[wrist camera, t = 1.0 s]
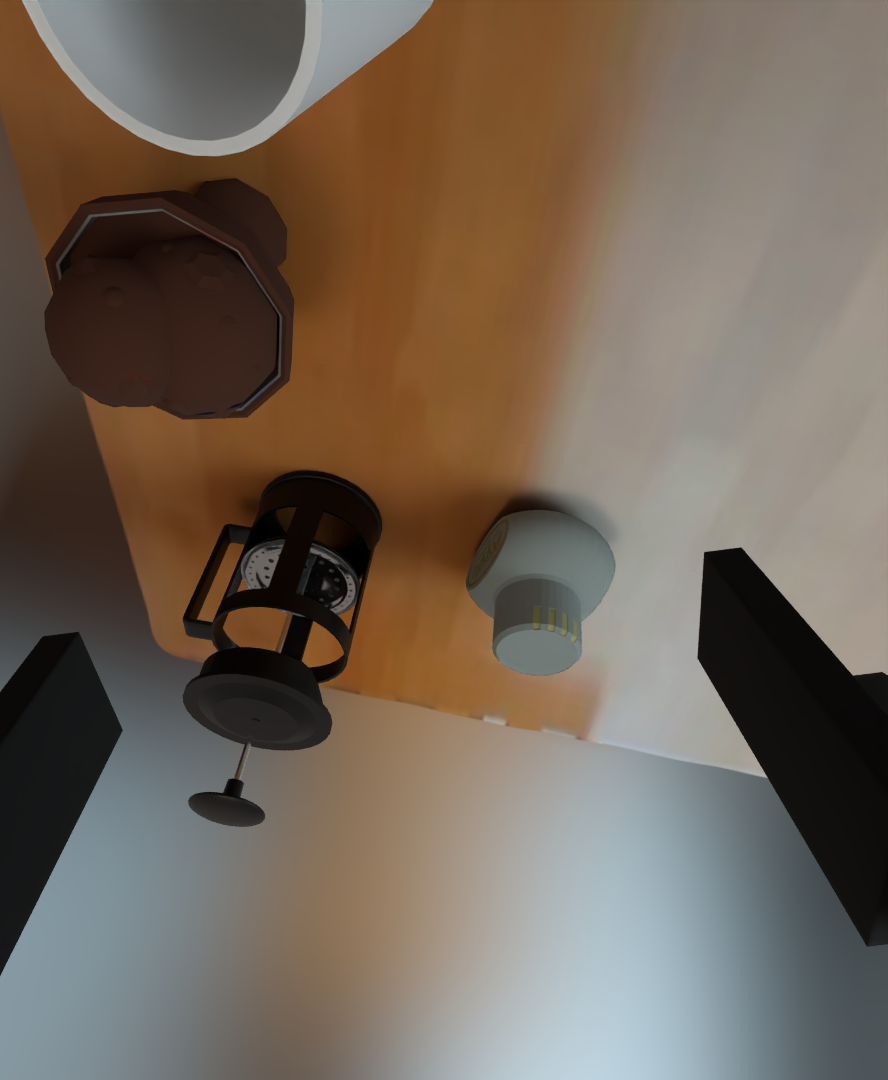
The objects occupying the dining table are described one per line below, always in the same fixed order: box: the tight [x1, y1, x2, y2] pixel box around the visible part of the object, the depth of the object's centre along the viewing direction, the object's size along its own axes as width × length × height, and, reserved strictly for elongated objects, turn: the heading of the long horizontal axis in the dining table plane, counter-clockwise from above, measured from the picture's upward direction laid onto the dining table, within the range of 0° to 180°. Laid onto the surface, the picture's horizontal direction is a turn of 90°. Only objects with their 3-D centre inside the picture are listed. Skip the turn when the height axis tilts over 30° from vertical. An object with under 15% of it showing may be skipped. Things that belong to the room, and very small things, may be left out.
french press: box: [183, 471, 382, 827], centre depth 46 cm, size 12×9×23 cm
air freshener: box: [466, 510, 615, 676], centre depth 50 cm, size 11×8×10 cm
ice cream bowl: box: [45, 179, 294, 419], centre depth 33 cm, size 11×11×15 cm
